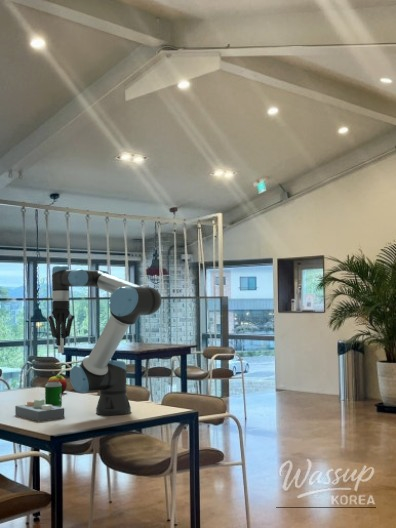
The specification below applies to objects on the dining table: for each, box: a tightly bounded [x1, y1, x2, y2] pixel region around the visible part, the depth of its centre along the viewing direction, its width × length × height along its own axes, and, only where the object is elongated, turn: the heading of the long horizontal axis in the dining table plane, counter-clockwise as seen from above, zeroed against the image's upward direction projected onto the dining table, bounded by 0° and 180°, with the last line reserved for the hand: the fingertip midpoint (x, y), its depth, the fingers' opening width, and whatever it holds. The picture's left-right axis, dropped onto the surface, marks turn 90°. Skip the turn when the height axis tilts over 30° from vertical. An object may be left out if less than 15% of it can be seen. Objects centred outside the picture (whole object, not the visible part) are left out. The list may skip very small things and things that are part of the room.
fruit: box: [46, 374, 68, 394], centre depth 359 cm, size 11×11×10 cm
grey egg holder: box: [14, 404, 65, 422], centre depth 283 cm, size 22×12×4 cm, turn 40°
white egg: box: [42, 405, 52, 410], centre depth 278 cm, size 4×4×5 cm
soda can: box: [44, 381, 63, 408], centre depth 305 cm, size 8×8×12 cm
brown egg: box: [26, 400, 34, 407], centre depth 288 cm, size 4×4×5 cm
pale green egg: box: [33, 398, 45, 408], centre depth 283 cm, size 4×4×5 cm
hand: (60, 352), depth 295 cm, fingers closed
